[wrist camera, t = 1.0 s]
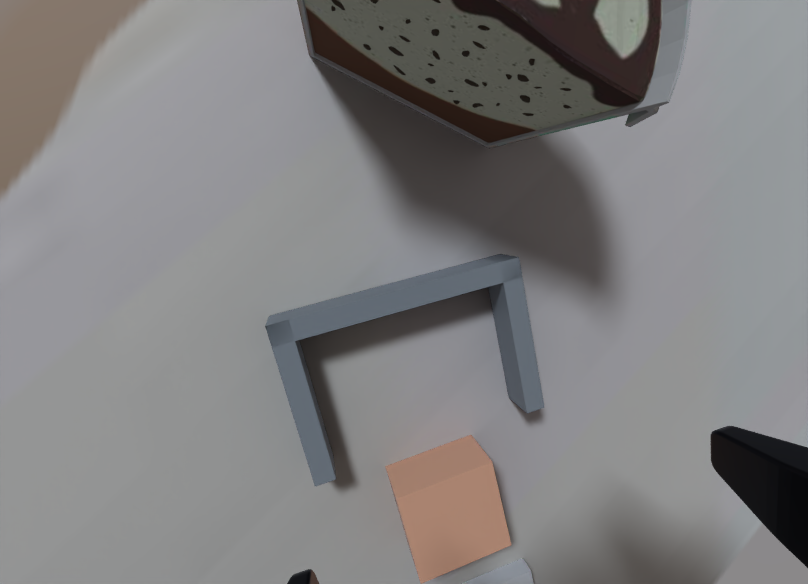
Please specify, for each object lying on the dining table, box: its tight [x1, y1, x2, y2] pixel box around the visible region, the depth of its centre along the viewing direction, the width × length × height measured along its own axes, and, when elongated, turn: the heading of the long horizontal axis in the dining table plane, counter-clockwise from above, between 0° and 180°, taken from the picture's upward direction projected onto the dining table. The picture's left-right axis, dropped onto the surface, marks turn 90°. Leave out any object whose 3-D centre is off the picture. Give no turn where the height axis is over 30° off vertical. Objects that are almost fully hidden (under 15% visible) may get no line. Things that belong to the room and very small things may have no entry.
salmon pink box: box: [385, 435, 511, 584], centre depth 22 cm, size 5×5×3 cm
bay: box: [265, 254, 544, 486], centre depth 21 cm, size 8×12×2 cm, turn 103°
